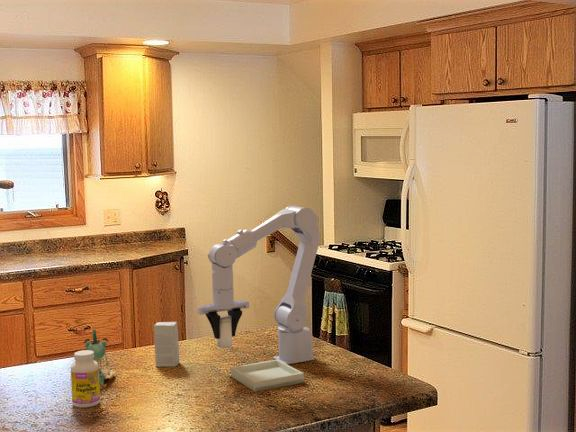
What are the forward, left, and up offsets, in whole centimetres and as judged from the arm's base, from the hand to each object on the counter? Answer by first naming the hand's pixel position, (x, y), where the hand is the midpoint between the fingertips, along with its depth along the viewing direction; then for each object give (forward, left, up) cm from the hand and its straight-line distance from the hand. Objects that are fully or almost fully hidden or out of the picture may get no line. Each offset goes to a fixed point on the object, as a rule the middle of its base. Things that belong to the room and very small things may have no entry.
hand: (224, 336), depth 216 cm
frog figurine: (+33, -11, -10) cm, 36 cm away
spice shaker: (0, 0, -2) cm, 2 cm away
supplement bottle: (+40, +7, -10) cm, 42 cm away
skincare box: (+12, -14, -10) cm, 21 cm away
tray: (-6, +13, -9) cm, 18 cm away
